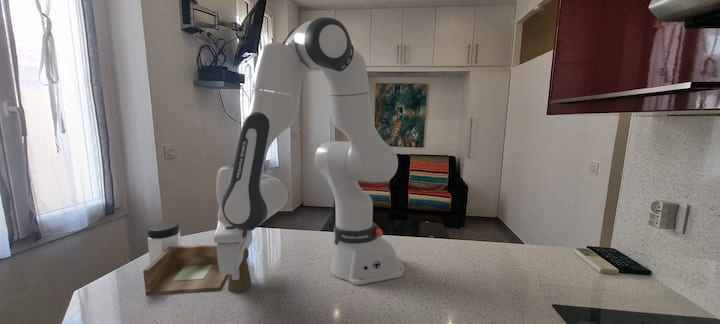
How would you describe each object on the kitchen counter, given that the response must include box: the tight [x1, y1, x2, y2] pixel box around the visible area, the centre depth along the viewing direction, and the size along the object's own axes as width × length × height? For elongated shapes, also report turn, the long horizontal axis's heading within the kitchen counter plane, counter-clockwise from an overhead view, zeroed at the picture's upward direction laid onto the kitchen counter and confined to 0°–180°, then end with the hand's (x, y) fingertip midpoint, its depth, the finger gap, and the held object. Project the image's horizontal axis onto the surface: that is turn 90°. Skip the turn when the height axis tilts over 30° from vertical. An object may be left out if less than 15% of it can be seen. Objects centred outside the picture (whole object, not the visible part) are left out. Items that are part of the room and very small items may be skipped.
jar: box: [147, 220, 182, 265], centre depth 94 cm, size 9×8×12 cm
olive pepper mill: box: [227, 248, 253, 294], centre depth 81 cm, size 6×6×11 cm
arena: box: [142, 243, 228, 296], centre depth 85 cm, size 18×14×7 cm
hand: (239, 272), depth 81 cm, fingers closed on olive pepper mill, 5 cm apart
